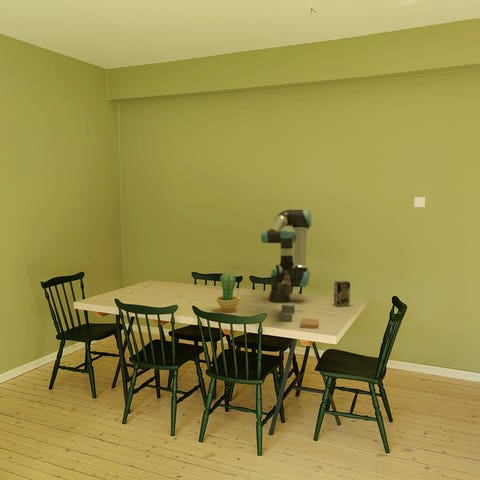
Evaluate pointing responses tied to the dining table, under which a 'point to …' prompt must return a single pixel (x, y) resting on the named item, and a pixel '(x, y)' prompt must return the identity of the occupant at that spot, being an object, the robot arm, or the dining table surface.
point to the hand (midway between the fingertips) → (286, 292)
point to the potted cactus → (228, 293)
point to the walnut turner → (284, 286)
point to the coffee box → (341, 293)
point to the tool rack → (286, 313)
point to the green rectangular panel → (309, 323)
